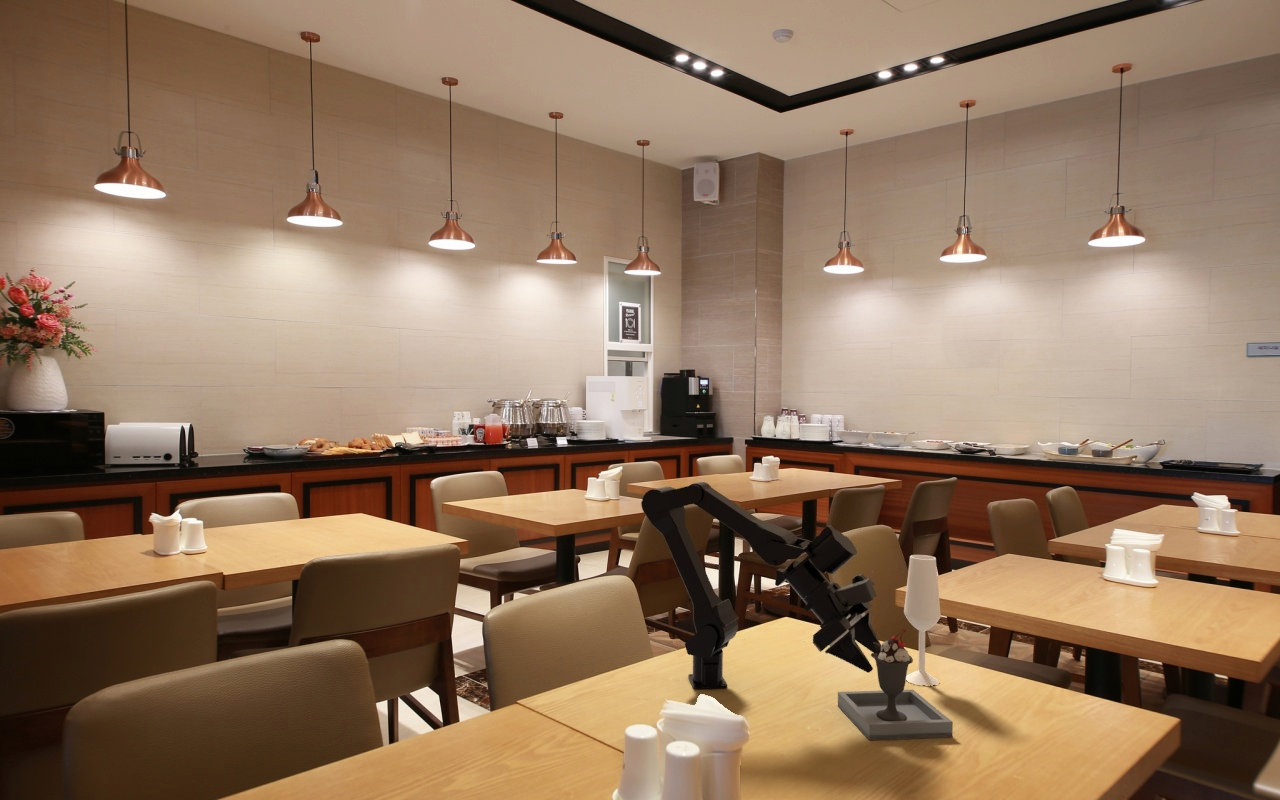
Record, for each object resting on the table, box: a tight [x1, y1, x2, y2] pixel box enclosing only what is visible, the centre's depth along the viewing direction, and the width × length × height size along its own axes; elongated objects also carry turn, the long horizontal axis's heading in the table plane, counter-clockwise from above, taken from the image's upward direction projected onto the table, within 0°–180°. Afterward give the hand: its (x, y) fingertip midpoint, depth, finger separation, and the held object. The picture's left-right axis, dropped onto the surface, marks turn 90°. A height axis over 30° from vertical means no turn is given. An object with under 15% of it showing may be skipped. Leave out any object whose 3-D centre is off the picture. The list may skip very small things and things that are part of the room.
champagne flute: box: [903, 554, 942, 686], centre depth 151 cm, size 7×7×24 cm
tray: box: [837, 689, 954, 741], centre depth 132 cm, size 14×14×2 cm
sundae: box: [870, 628, 914, 721], centre depth 132 cm, size 7×7×15 cm
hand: (877, 662), depth 133 cm, fingers open, 9 cm apart
